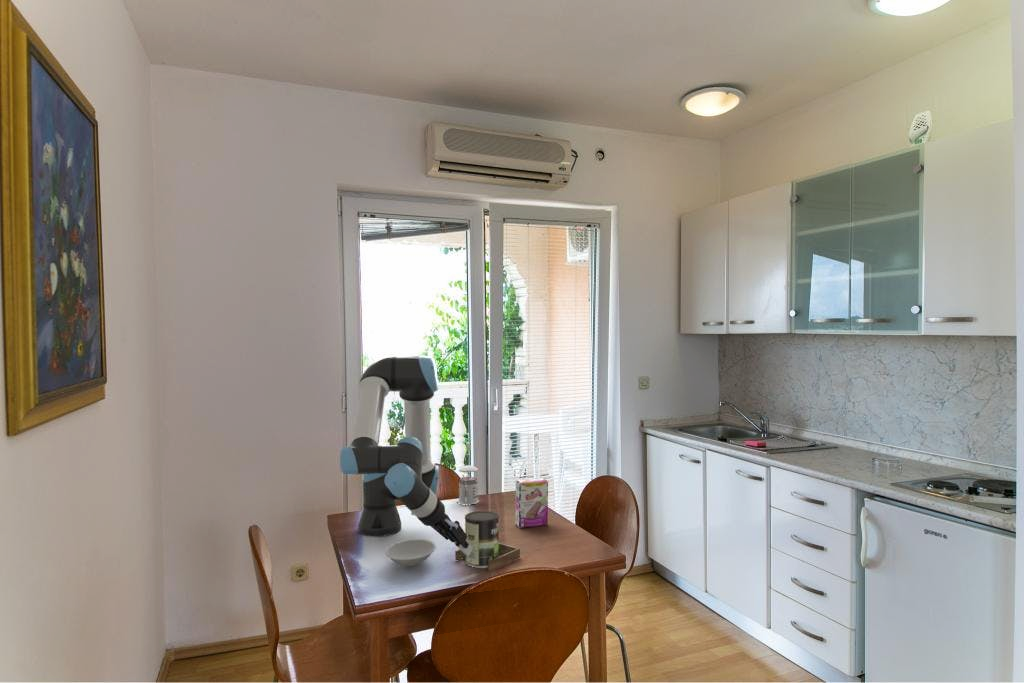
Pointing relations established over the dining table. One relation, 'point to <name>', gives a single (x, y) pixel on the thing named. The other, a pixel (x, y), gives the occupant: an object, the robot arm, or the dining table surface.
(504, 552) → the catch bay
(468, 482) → the french press
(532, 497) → the candy bar box
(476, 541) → the coffee can
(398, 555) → the dish
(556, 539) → the dining table surface
